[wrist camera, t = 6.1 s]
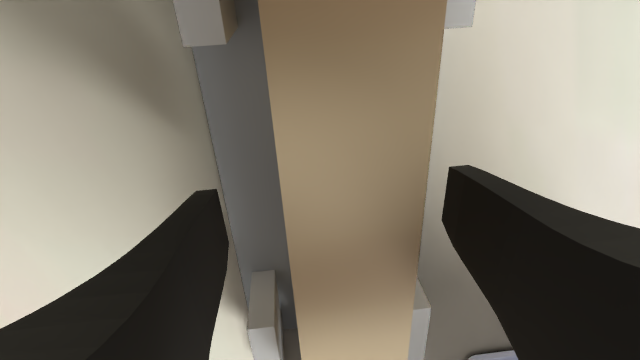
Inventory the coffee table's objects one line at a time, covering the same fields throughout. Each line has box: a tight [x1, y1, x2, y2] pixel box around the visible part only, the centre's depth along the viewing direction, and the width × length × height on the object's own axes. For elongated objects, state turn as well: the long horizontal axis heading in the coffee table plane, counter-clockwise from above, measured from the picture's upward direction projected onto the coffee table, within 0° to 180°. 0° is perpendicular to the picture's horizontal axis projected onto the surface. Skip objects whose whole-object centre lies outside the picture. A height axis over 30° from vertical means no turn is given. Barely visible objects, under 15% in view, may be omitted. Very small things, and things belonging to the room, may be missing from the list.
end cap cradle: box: [173, 0, 476, 360], centre depth 13 cm, size 24×8×4 cm, turn 3°
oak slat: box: [258, 0, 447, 360], centre depth 11 cm, size 16×3×6 cm, turn 3°
